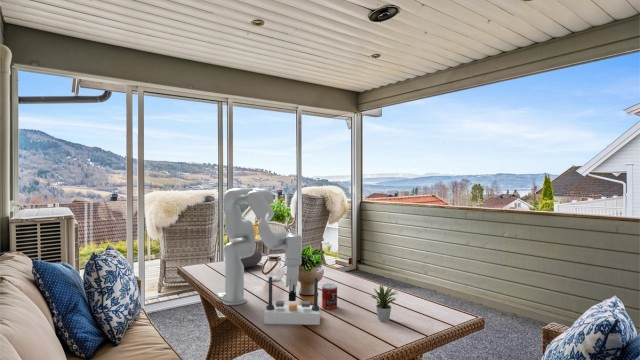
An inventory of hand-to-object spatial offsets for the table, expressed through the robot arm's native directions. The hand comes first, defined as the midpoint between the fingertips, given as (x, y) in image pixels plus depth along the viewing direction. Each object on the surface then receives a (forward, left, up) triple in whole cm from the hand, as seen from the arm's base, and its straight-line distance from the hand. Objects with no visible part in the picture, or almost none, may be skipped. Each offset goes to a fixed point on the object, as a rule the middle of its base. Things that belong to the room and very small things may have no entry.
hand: (292, 300), depth 169 cm
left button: (-6, 0, -2) cm, 6 cm away
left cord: (-10, 0, -4) cm, 11 cm away
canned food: (+17, +17, -9) cm, 26 cm away
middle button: (0, 0, -4) cm, 4 cm away
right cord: (+11, 0, -4) cm, 12 cm away
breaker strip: (0, 0, -9) cm, 9 cm away
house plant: (+42, +1, -9) cm, 43 cm away
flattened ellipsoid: (-44, +95, -9) cm, 105 cm away
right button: (+6, 0, -2) cm, 7 cm away
